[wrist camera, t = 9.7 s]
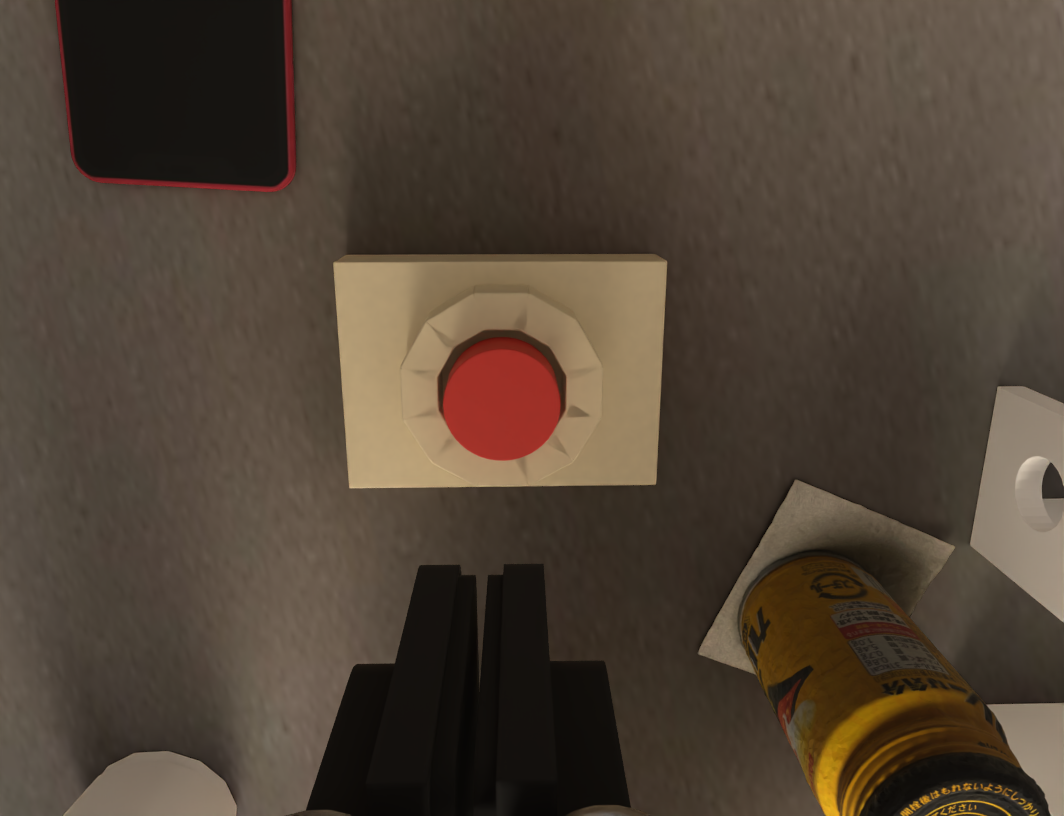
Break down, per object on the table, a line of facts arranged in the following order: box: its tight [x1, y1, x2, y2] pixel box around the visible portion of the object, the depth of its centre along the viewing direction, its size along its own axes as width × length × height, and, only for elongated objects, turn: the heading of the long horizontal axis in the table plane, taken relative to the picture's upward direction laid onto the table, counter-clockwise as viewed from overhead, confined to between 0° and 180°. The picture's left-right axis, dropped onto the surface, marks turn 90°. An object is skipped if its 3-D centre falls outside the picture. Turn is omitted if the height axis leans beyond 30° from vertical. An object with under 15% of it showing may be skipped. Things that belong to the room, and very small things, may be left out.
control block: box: [333, 254, 667, 488], centre depth 28 cm, size 11×8×4 cm
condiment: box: [698, 480, 1051, 816], centre depth 27 cm, size 7×8×12 cm
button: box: [443, 337, 561, 461], centre depth 25 cm, size 4×4×2 cm
